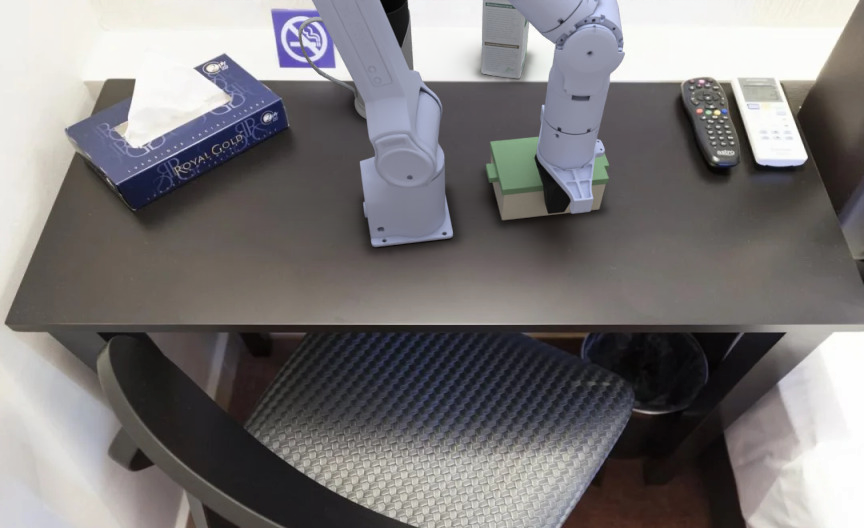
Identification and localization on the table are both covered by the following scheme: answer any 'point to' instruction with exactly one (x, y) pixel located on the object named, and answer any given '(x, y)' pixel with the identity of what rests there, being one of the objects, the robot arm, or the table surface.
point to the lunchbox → (529, 179)
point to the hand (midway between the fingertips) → (555, 209)
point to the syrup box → (503, 39)
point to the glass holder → (400, 22)
